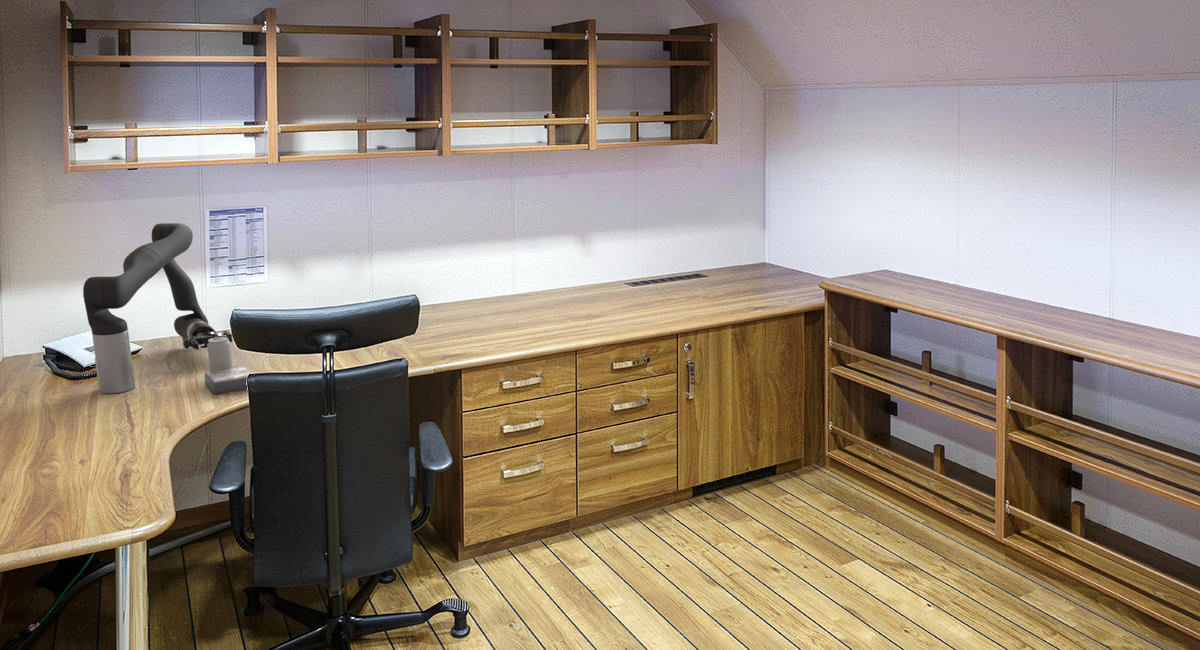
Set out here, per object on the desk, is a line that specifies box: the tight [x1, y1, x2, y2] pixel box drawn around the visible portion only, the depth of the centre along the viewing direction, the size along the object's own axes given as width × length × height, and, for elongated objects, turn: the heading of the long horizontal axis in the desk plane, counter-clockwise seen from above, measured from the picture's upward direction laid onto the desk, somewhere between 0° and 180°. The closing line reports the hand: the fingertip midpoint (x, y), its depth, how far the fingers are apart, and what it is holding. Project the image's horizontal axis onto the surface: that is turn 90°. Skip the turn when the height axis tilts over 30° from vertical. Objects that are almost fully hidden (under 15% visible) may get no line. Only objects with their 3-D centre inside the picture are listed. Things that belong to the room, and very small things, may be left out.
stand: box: [204, 366, 254, 396], centre depth 277 cm, size 12×12×4 cm
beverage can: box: [207, 337, 234, 372], centre depth 286 cm, size 6×6×12 cm
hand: (212, 344), depth 295 cm, fingers open, 8 cm apart
